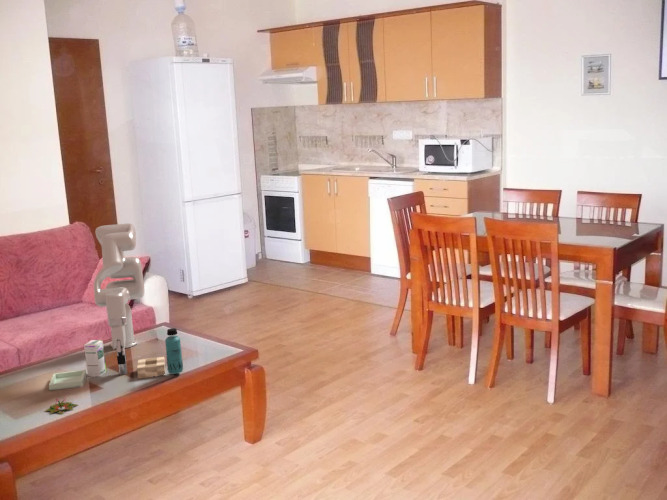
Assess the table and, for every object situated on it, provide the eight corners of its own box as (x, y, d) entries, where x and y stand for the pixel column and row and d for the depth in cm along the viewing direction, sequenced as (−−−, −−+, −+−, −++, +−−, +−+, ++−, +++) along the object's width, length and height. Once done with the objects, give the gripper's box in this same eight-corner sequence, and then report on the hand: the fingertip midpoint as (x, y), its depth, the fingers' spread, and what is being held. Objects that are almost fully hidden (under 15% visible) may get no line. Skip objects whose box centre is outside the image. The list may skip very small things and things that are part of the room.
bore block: (139, 369, 302) (138, 359, 301) (165, 366, 304) (164, 356, 303) (138, 378, 291) (137, 368, 290) (165, 375, 293) (164, 365, 293)
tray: (54, 379, 295) (53, 373, 295) (86, 375, 298) (85, 369, 297) (49, 390, 283) (48, 384, 282) (82, 386, 286) (82, 380, 285)
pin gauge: (119, 372, 299) (116, 341, 296) (127, 371, 300) (124, 340, 297) (119, 375, 296) (115, 343, 293) (127, 374, 297) (123, 343, 294)
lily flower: (37, 413, 262) (36, 402, 261) (61, 401, 273) (60, 390, 272) (61, 418, 257) (60, 406, 256) (85, 405, 268) (83, 394, 267)
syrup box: (100, 377, 295) (96, 344, 292) (87, 376, 296) (83, 344, 293) (107, 371, 301) (103, 340, 298) (94, 371, 302) (90, 339, 299)
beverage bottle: (164, 375, 294) (160, 329, 290) (178, 370, 299) (173, 325, 295) (173, 378, 289) (169, 332, 285) (187, 373, 294) (182, 328, 290)
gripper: (109, 316, 300) (114, 356, 304) (106, 327, 284) (111, 370, 288) (127, 314, 302) (132, 354, 306) (125, 325, 286) (130, 367, 290)
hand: (122, 361), depth 297 cm, fingers open, 3 cm apart
